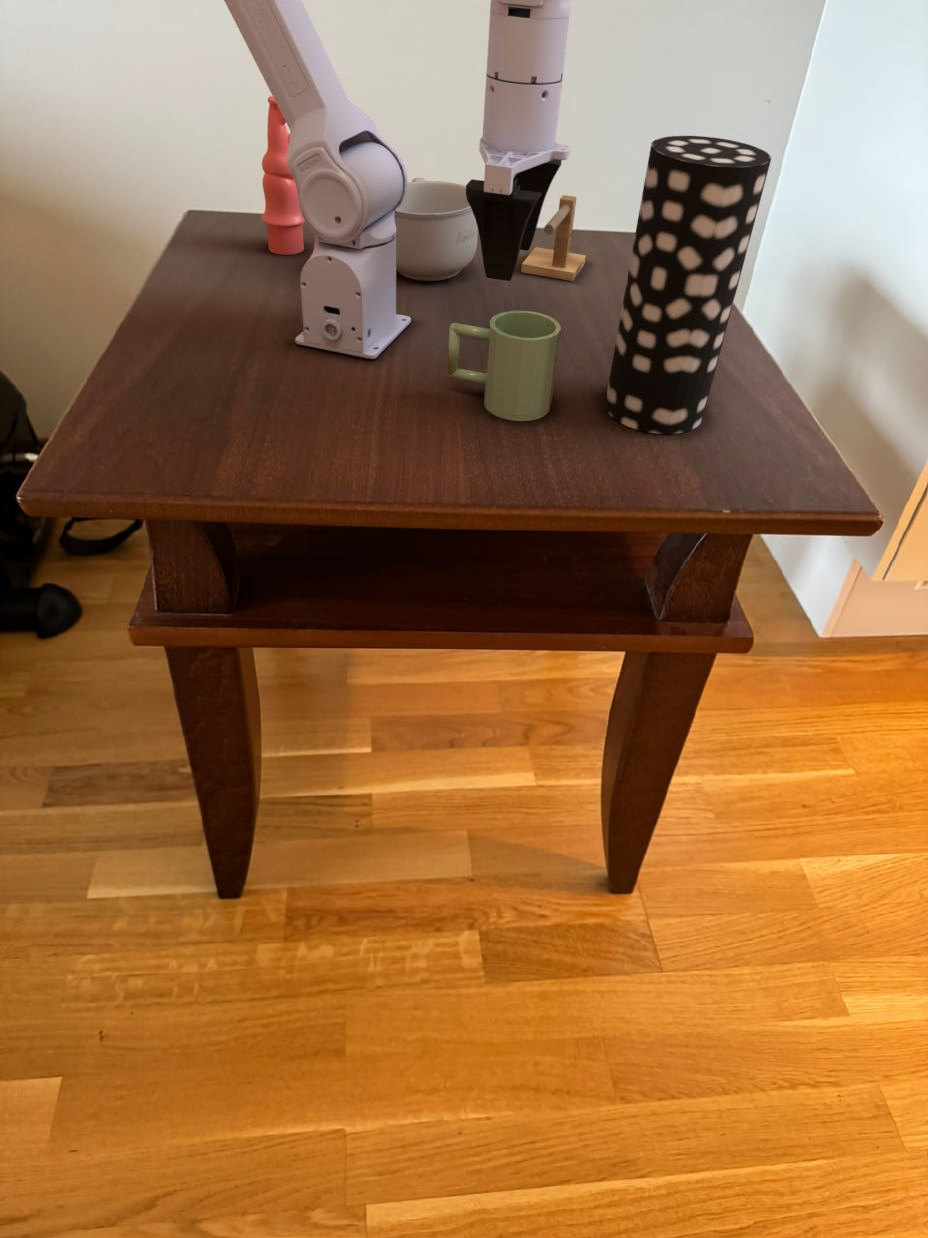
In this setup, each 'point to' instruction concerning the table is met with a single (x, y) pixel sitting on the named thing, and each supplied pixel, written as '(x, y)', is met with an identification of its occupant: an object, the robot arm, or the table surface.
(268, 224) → the figurine
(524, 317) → the mug
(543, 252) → the mug stand
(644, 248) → the spotted tube
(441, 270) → the teacup
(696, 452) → the table surface
